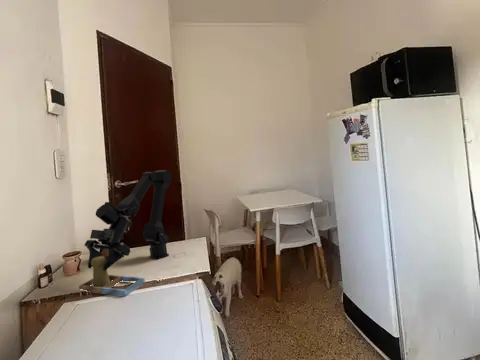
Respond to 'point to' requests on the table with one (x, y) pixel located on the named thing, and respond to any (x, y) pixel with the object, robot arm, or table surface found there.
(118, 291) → the two-pocket rack
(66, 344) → the table surface
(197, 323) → the table surface
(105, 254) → the brown hat
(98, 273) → the olive green tapered cylinder
